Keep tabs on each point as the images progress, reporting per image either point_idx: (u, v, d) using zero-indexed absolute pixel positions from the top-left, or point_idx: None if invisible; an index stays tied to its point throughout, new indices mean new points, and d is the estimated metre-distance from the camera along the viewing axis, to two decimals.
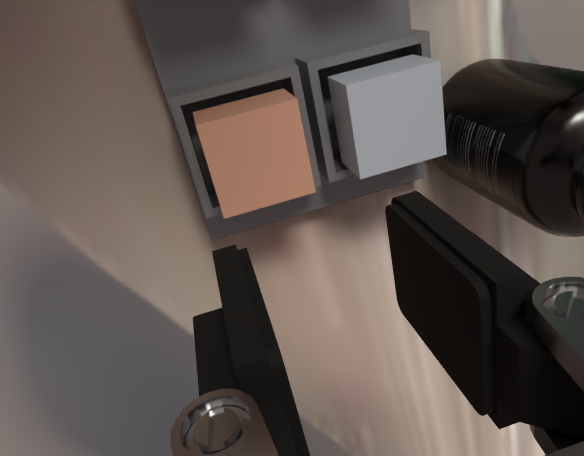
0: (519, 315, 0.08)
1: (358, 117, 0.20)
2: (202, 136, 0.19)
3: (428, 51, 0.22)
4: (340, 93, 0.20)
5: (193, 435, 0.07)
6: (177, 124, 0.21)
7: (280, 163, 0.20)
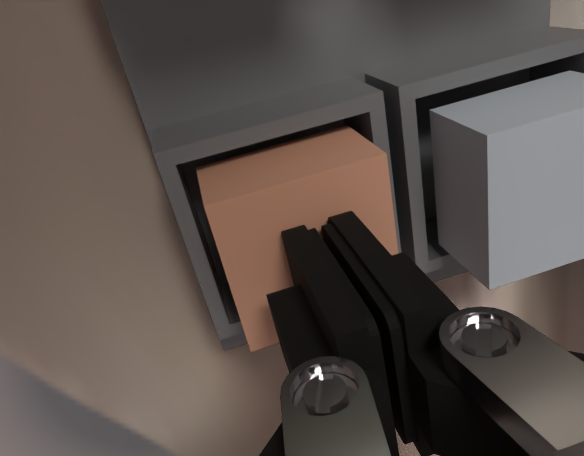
0: (432, 345, 0.08)
1: (500, 190, 0.11)
2: (215, 224, 0.10)
3: None
4: (465, 144, 0.11)
5: (301, 394, 0.07)
6: (170, 196, 0.12)
7: None
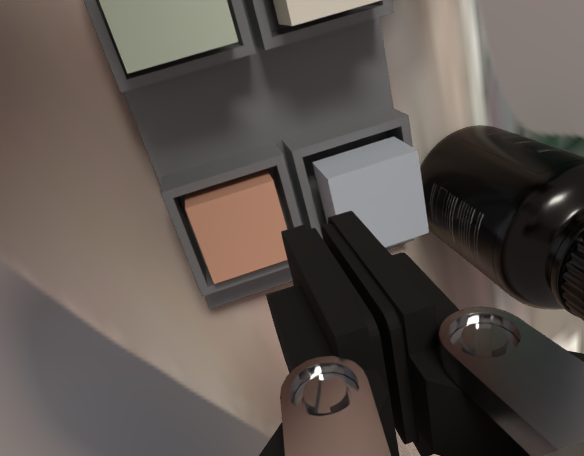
0: (432, 345, 0.08)
1: (341, 206, 0.21)
2: (191, 217, 0.21)
3: (409, 133, 0.23)
4: (323, 182, 0.21)
5: (301, 394, 0.07)
6: (171, 214, 0.22)
7: (262, 234, 0.22)
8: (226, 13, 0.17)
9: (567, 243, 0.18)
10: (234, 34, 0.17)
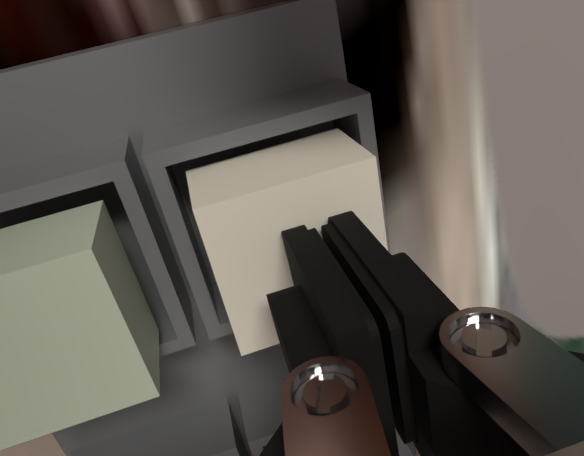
0: (432, 345, 0.08)
1: None
2: None
3: None
4: None
5: (301, 394, 0.07)
6: None
7: None
8: (139, 366, 0.11)
9: None
10: (153, 389, 0.11)
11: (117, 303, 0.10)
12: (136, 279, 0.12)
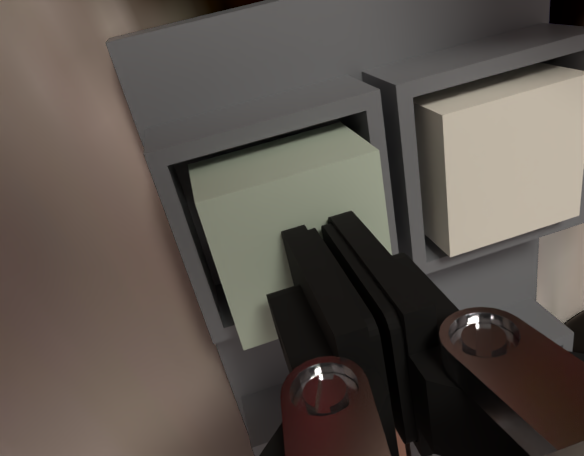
0: (432, 345, 0.08)
1: None
2: None
3: None
4: None
5: (301, 394, 0.07)
6: None
7: None
8: None
9: None
10: None
11: (384, 205, 0.11)
12: None
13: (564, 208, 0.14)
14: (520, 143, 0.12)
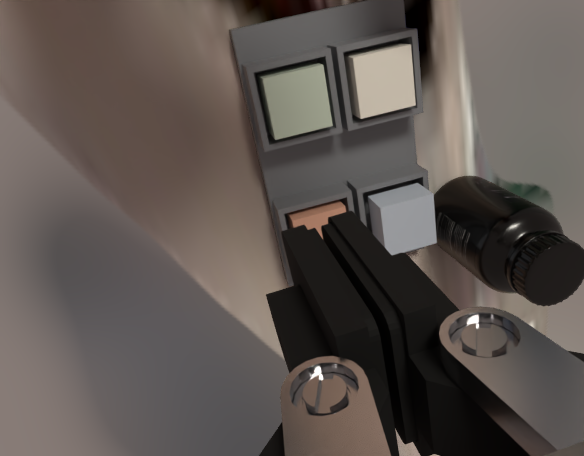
0: (432, 345, 0.08)
1: (386, 224, 0.35)
2: (295, 226, 0.35)
3: (427, 181, 0.37)
4: (376, 209, 0.35)
5: (301, 394, 0.07)
6: (281, 223, 0.36)
7: None
8: (328, 112, 0.33)
9: (516, 251, 0.32)
10: (331, 122, 0.33)
11: (326, 86, 0.32)
12: None
13: (408, 101, 0.34)
14: (385, 71, 0.32)
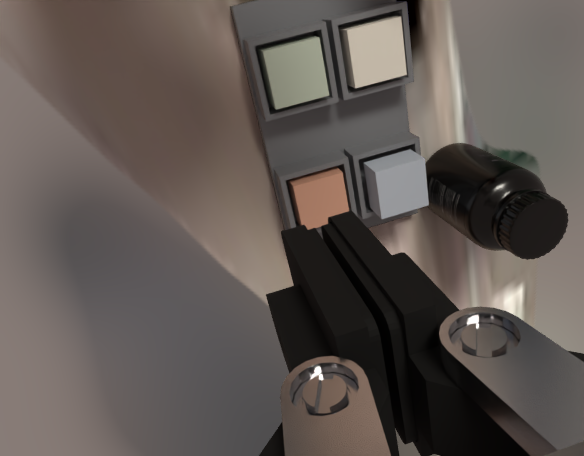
0: (432, 345, 0.08)
1: (381, 187, 0.37)
2: (296, 191, 0.38)
3: (419, 147, 0.39)
4: (371, 174, 0.38)
5: (301, 395, 0.07)
6: (283, 190, 0.38)
7: (333, 203, 0.39)
8: (325, 82, 0.35)
9: (501, 209, 0.35)
10: (327, 92, 0.35)
11: (322, 57, 0.34)
12: None
13: (399, 71, 0.36)
14: (377, 42, 0.35)
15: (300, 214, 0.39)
